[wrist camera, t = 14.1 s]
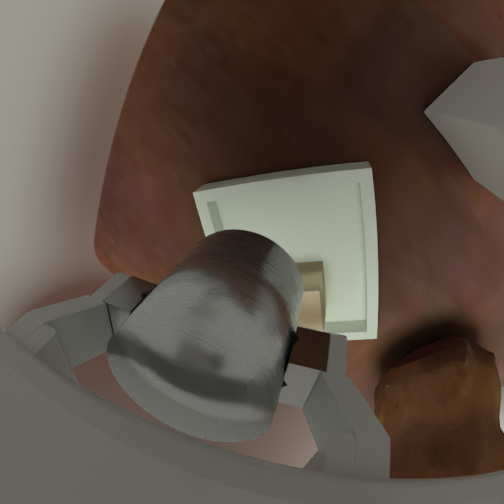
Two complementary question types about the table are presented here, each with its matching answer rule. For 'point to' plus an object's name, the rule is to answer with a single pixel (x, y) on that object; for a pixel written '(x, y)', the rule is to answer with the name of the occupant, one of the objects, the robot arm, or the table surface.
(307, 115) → the table surface
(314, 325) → the beech block
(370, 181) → the tray
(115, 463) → the robot arm
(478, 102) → the milk carton
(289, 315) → the grey rounded cylinder
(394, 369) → the butternut squash
